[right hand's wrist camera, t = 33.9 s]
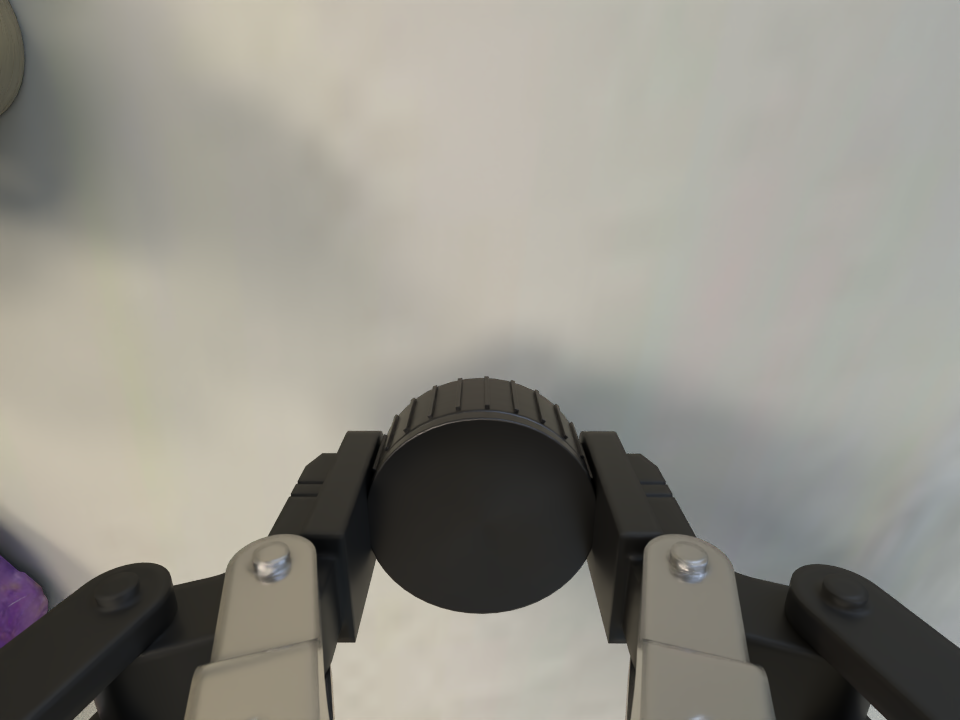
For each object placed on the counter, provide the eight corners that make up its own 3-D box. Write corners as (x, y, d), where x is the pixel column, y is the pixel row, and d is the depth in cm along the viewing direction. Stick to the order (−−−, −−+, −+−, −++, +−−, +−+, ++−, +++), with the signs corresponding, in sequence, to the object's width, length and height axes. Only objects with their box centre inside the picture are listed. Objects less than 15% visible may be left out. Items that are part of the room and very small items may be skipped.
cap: (626, 467, 12) (651, 521, 10) (482, 584, 13) (483, 651, 12) (480, 330, 11) (479, 364, 9) (336, 471, 12) (312, 525, 11)
